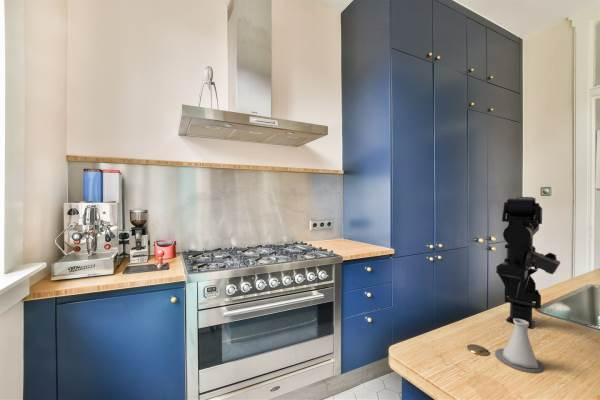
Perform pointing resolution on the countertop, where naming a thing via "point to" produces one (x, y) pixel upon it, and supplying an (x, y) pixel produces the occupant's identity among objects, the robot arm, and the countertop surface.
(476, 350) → the bronze token
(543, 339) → the countertop surface
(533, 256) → the robot arm
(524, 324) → the flask
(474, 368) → the countertop surface
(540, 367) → the rubber mat
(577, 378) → the countertop surface
